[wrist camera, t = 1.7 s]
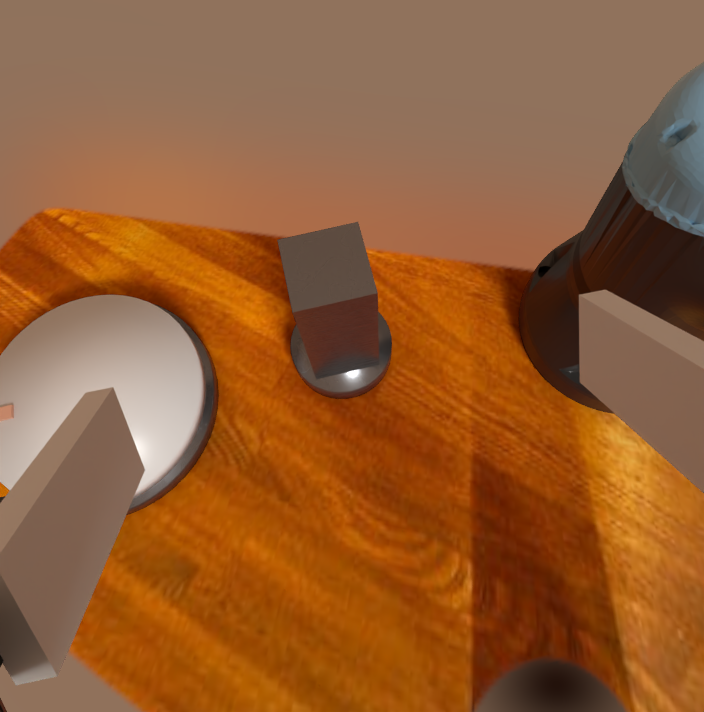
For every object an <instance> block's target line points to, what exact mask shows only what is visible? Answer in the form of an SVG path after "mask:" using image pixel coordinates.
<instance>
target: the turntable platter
mask: <svg viewBox="0 0 704 712" xmlns="http://www.w3.org/2000/svg"><path fill="white" fill-rule="evenodd" d="M111 387H113V388H114V390H115V393H116V395H117V398H118V401H119V403H120V406H121V408H122V411H123V414H124V416H125V419H126V421H127V424H128V427H129V429H130V432H131V434H132V437H133V440H134V442H135V445H136V447H137V450H138V453H139V455H140V458H141V460H142V463H143V466H144V468H145V472H144V474H143V476H142V479H141V481H140V483H139V486H138V488H137V490H136V493H135V495H134V497H133V499H134V498H136V497H137V496H139V495H141V494H142V493H144V492H146V491H147V490H149V489H150V488H152V487H153V486H154V485H156V484H157V483H158V482H159V481H161V480H162V479H163V478H164V477H165V476H166V475H167V474H168V473H169V472H170V471H171V470H172V469H173V468H174V467H175V466H176V464H177V463H178V462H179V461H180V460H181V458H182V457H183V456H184V454H185V453H186V451H187V449H188V448H189V446H190V445H191V443H192V441H193V439H194V437H195V435H196V433H197V431H198V428H199V425H200V422H201V419H202V416H203V411H204V406H205V399H206V378H205V372H204V367H203V363H202V360H201V357H200V354H199V352H198V350H197V348H196V346H195V344H194V342H193V341H192V339H191V338H190V337H189V335H188V334H187V333H186V331H185V330H184V329H183V328H182V327H181V325H180V324H179V323H178V322H177V321H176V320H175V319H174V318H173V317H172V316H171V315H169V314H168V313H167V312H165V311H164V310H162V309H161V308H159V307H157V306H155V305H153V304H151V303H150V302H147V301H144V300H141V299H138V298H134V297H129V296H123V295H97V296H91V297H85V298H81V299H78V300H74V301H71V302H68V303H66V304H63V305H61V306H58V307H56V308H55V309H53V310H51V311H49V312H47V313H45V314H44V315H42V316H41V317H39V318H38V319H36V320H35V321H33V322H32V323H31V324H30V325H28V326H27V327H26V328H25V329H23V330H22V331H21V332H20V333H19V334H18V335H17V336H16V337H15V338H14V339H13V340H12V341H11V343H10V344H9V345H8V346H7V348H6V349H5V350H4V351H3V353H2V354H1V356H0V482H1V483H2V484H3V485H4V486H5V487H7V488H8V489H9V490H11V489H12V487H13V486H14V485H15V484H16V482H17V481H18V480H19V478H20V477H21V476H22V474H23V473H24V472H25V471H26V469H27V468H28V467H29V465H30V464H31V463H32V461H33V460H34V459H35V458H36V456H37V455H38V454H39V452H40V451H41V450H42V448H43V447H44V446H45V445H46V443H47V442H48V441H49V439H50V438H51V437H52V435H53V434H54V433H55V432H56V430H57V429H58V428H59V426H60V425H61V424H62V422H63V421H64V420H65V419H66V417H67V416H68V415H69V413H70V412H71V411H72V409H73V408H74V407H75V406H76V404H77V403H78V402H79V400H80V399H81V398H82V396H83V395H84V394H85V393H86V392H91V391H96V390H101V389H106V388H111Z"/></svg>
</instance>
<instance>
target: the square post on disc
mask: <svg viewBox="0 0 704 712" xmlns="http://www.w3.org/2000/svg"><path fill="white" fill-rule="evenodd" d="M278 245H279V250H280V255H281V259H282V264H283V269H284V274H285V279H286V284H287V288H288V293H289V298H290V303H291V308H292V313H293V315H294V318H295V321H296V326H295V328H294V330H293V334H292V338H291V355H292V358H293V361H294V364H295V366H296V368H297V371H298V373H299V375H300V377H301V378H302V380H303V381H304V382H305V383H306V384H307V385H308V386H309V387H310V388H311V389H312V390H314V391H315V392H317V393H319V394H321V395H323V396H326V397H330V398H335V399H348V398H354V397H357V396H360V395H362V394H365V393H367V392H368V391H370V390H371V389H373V388H374V387H375V386H376V385H377V384H378V383H379V382H380V381H381V380H382V379H383V377H384V376H385V374H386V372H387V370H388V367H389V365H390V360H391V347H392V342H391V334H390V330H389V327H388V325H387V323H386V321H385V320H384V318H383V317H382V315H381V314H380V313H379V312H378V293H377V289H376V286H375V282H374V278H373V275H372V271H371V268H370V264H369V260H368V257H367V253H366V249H365V246H364V242H363V238H362V235H361V231H360V227H359V224H358V222H355V223H351V224H346V225H342V226H337V227H333V228H328V229H324V230H320V231H315V232H311V233H306V234H301V235H297V236H292V237H288V238H283V239H279V240H278Z"/></svg>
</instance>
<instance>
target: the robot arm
mask: <svg viewBox="0 0 704 712" xmlns="http://www.w3.org/2000/svg"><path fill="white" fill-rule="evenodd" d="M519 327H520V333H521V337H522V341H523V344H524V347H525V349H526V351H527V354H528V355H529V357H530V359H531V361H532V362H533V364H534V366H535V367H536V368H537V370H538V371H539V372H540V373H541V375H542V376H543V377H544V378H545V379H546V380H547V381H548V382H549V383H550V384H551V385H552V386H553V387H555V388H556V389H557V390H558V391H560V392H561V393H563V394H564V395H566V396H567V397H569V398H570V399H572V400H574V401H576V402H578V403H580V404H582V405H585V406H587V407H590V408H593V409H596V410H599V411H603V412H608V413H614V414H616V415H617V416H618V417H619V418H620V419H621V420H623V421H624V422H625V423H626V424H627V425H628V426H629V427H630V428H632V429H633V430H634V431H635V432H636V433H637V434H638V435H639V436H640V437H642V438H643V439H644V440H645V441H646V442H647V443H648V444H649V445H651V446H652V447H653V448H654V449H655V450H656V451H657V452H658V453H659V454H661V455H662V456H663V457H664V458H665V459H666V460H667V461H668V462H670V463H671V464H672V465H673V466H674V467H675V468H676V469H677V470H678V471H680V472H681V473H682V474H683V475H684V476H685V477H686V478H687V479H689V480H690V481H691V482H692V483H693V484H694V485H695V486H696V487H697V488H699V489H700V490H701V491H702V492H703V493H704V62H703V63H701V64H700V65H698V66H697V67H695V68H694V69H692V70H691V71H690V72H688V73H687V74H686V75H684V76H683V77H682V78H681V79H680V80H679V81H678V82H677V83H676V84H675V85H674V86H673V87H672V88H671V89H670V90H669V92H668V93H667V94H666V95H665V97H664V98H663V100H662V101H661V102H660V104H659V106H658V107H657V108H656V110H655V111H654V113H653V114H652V116H651V117H650V119H649V120H648V121H647V122H646V123H645V124H644V125H643V126H642V127H641V128H640V129H639V130H638V132H637V133H636V134H635V135H634V137H633V138H632V140H631V141H630V143H629V146H628V150H627V152H626V154H625V156H624V160H623V162H622V164H621V166H620V167H619V169H618V171H617V173H616V175H615V176H614V178H613V180H612V181H611V183H610V185H609V187H608V188H607V190H606V192H605V194H604V195H603V197H602V199H601V201H600V202H599V204H598V206H597V208H596V209H595V211H594V213H593V215H592V216H591V218H590V220H589V222H588V224H587V225H586V227H585V229H584V230H583V231H581V232H580V233H578V234H577V235H575V236H574V237H572V238H570V239H569V240H567V241H566V242H564V243H563V244H561V245H560V246H558V247H557V248H555V249H554V250H553V251H551V252H550V253H549V254H548V255H547V256H546V257H545V258H544V259H543V260H542V261H541V263H540V264H539V265H538V266H537V268H536V269H535V271H534V273H533V274H532V276H531V278H530V280H529V282H528V284H527V286H526V288H525V290H524V293H523V296H522V299H521V303H520V309H519ZM144 472H145V468H144V466H143V463H142V460H141V458H140V455H139V453H138V450H137V447H136V445H135V442H134V440H133V437H132V434H131V432H130V429H129V427H128V424H127V421H126V419H125V416H124V414H123V411H122V408H121V406H120V403H119V401H118V398H117V395H116V393H115V390H114V388H113V387H111V388H106V389H101V390H96V391H91V392H86V393H85V394H84V395H83V396H82V398H81V399H80V400H79V402H78V403H77V404H76V406H75V407H74V408H73V409H72V411H71V412H70V413H69V415H68V416H67V417H66V419H65V420H64V421H63V422H62V424H61V425H60V426H59V428H58V429H57V430H56V432H55V433H54V434H53V435H52V437H51V438H50V439H49V441H48V442H47V443H46V445H45V446H44V447H43V448H42V450H41V451H40V452H39V454H38V455H37V456H36V458H35V459H34V460H33V461H32V463H31V464H30V465H29V467H28V468H27V469H26V471H25V472H24V473H23V474H22V476H21V477H20V478H19V480H18V481H17V482H16V484H15V485H14V486H13V487H12V489H11V490H10V491H9V493H8V494H7V495H6V496H5V497H0V667H1V665H2V663H3V665H4V666H5V668H6V670H7V671H8V673H9V674H10V676H11V678H12V679H13V681H14V683H15V684H16V685H18V684H23V683H28V682H33V681H38V680H43V679H47V678H52V677H57V676H58V674H59V672H60V669H61V667H62V665H63V662H64V660H65V658H66V655H67V653H68V651H69V648H70V646H71V644H72V641H73V639H74V636H75V634H76V632H77V629H78V627H79V625H80V622H81V620H82V618H83V615H84V613H85V611H86V608H87V606H88V604H89V601H90V599H91V596H92V594H93V592H94V589H95V587H96V585H97V582H98V580H99V578H100V575H101V573H102V571H103V568H104V566H105V563H106V561H107V559H108V556H109V554H110V552H111V549H112V547H113V545H114V542H115V540H116V538H117V535H118V533H119V530H120V528H121V526H122V523H123V521H124V519H125V516H126V514H127V512H128V509H129V507H130V505H131V502H132V500H133V497H134V495H135V493H136V490H137V488H138V486H139V483H140V481H141V479H142V476H143V474H144ZM0 712H7V711H6V709H5V707H4V705H3V703H2V700H1V698H0Z"/></svg>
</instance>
